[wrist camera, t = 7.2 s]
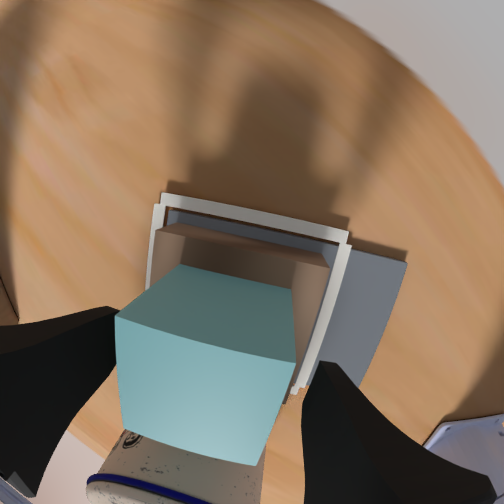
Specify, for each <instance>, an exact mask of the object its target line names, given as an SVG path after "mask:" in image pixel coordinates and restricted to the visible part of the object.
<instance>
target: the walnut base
mask: <svg viewBox="0 0 504 504" xmlns="http://www.w3.org/2000/svg"><path fill="white" fill-rule="evenodd" d="M179 264H182V265H186V266H190V267H194V268H199V269H203V270H207V271H211V272H216V273H220V274H224V275H229V276H233V277H237V278H242V279H246V280H251V281H255V282H260V283H264V284H269V285H273V286H278V287H283V288H287V289H291V292H292V306H293V320H294V335H295V351H296V365H295V368H294V371H293V374H292V377H291V380H290V382H289V385H288V388H287V391H286V393H285V396H284V399H283V401H282V404H286V401H287V399H288V396H289V393H290V391H291V388H292V386H293V383H294V380H295V377H296V375H297V372H298V369H299V366H300V364H301V361H302V358H303V355H304V352H305V349H306V346H307V343H308V340H309V337H310V334H311V331H312V328H313V325H314V322H315V319H316V316H317V312H318V309H319V306H320V303H321V299H322V296H323V292H324V289H325V286H326V282H327V279H328V275H329V271H330V267H329V265H328V264H327V262H326V260H325V258H324V257H323V255H322V254H321V253H317V252H312V251H308V250H303V249H299V248H294V247H290V246H285V245H281V244H276V243H272V242H267V241H262V240H258V239H253V238H249V237H244V236H239V235H235V234H230V233H225V232H221V231H216V230H211V229H207V228H202V227H197V226H192V225H187V224H183V223H178V222H176V223H173V224H171V225H168V226H165V227H162V228H160V229H157V230H155V237H154V245H153V254H152V264H151V275H150V287H151V286H152V285H153V284H155V283H156V282H157V281H158V280H160V279H161V278H162V277H164V276H165V275H166V274H167V273H169V272H170V271H171V270H173V269H174V268H175V267H176V266H178V265H179ZM150 287H149V288H150Z"/></svg>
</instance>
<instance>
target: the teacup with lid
mask: <svg viewBox="0 0 504 504" xmlns="http://www.w3.org/2000/svg"><path fill="white" fill-rule="evenodd" d="M265 451H266V444H265V446H264V449H263V451H262V453H261V456H260V458H259V460H258V463H257V465H256V466H252V465H246V464H241V463H236V462H231V461H226V460H222V459H217V458H213V457H209V456H205V455H201V454H197V453H194V452H190V451H187V450H183V449H180V448H177V447H174V446H170V445H167V444H164V443H161V442H159V441H156V440H153V439H150V438H147V437H145V436H142V435H139V434H137V433H134V432H132V431H129V430H127V429H125V430H124V431H123V433H122V434H121V436H120V438H119V439H118V441H117V442H116V444H115V446H114V447H113V449H112V450H111V452H110V454H109V455H108V457H107V458H106V460H105V462H104V463H103V465H102V467H101V468H100V470H99V471H98V473H97V474H94V475H91V476H90V477H89V478H88V480H87V487H86V494H87V498H88V500H89V501H90V503H91V504H260V498H261V489H262V480H263V470H264V461H265Z"/></svg>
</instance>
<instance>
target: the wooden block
mask: <svg viewBox="0 0 504 504" xmlns="http://www.w3.org/2000/svg"><path fill="white" fill-rule="evenodd" d="M3 325H18V319H17V317H16V315H15V312H14V310H13V308H12V306H11V303H10V301H9V299H8V296H7V294H6V292H5V289H4V287H3V284H2V282H1V279H0V326H3Z"/></svg>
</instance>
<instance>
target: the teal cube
mask: <svg viewBox="0 0 504 504" xmlns="http://www.w3.org/2000/svg"><path fill="white" fill-rule="evenodd" d="M115 344H116V362H117V376H118V387H119V397H120V405H121V413H122V420H123V427H124V428H125V429H127V430H129V431H132V432H134V433H137V434H139V435H142V436H145V437H147V438H150V439H153V440H156V441H159V442H161V443H164V444H167V445H170V446H174V447H177V448H180V449H183V450H187V451H190V452H194V453H197V454H201V455H205V456H209V457H213V458H217V459H222V460H226V461H231V462H236V463H241V464H246V465H252V466H256V465H257V463H258V460H259V458H260V456H261V453H262V451H263V449H264V446H265V444H266V442H267V439H268V437H269V434H270V432H271V429H272V427H273V424H274V422H275V419H276V417H277V414H278V412H279V409H280V407H281V404H282V401H283V399H284V396H285V393H286V391H287V388H288V385H289V382H290V380H291V377H292V374H293V371H294V368H295V365H296V351H295V335H294V320H293V306H292V292H291V289H287V288H283V287H278V286H273V285H269V284H264V283H260V282H255V281H251V280H246V279H242V278H237V277H233V276H229V275H224V274H220V273H216V272H211V271H207V270H203V269H199V268H194V267H190V266H186V265H182V264H179V265H178V266H176V267H175V268H174V269H173V270H171V271H170V272H169V273H167V274H166V275H165V276H164V277H162V278H161V279H160V280H158V281H157V282H156V283H155V284H153V285H152V286H151V287H150V288H148V289H147V290H146V291H145V292H143V293H142V294H141V295H140V296H138V297H137V298H136V299H135V300H133V301H132V302H131V303H130V304H128V305H127V306H126V307H125V308H124V309H122V310H121V311H120V312H119V313H117V314H116V315H115Z"/></svg>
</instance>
